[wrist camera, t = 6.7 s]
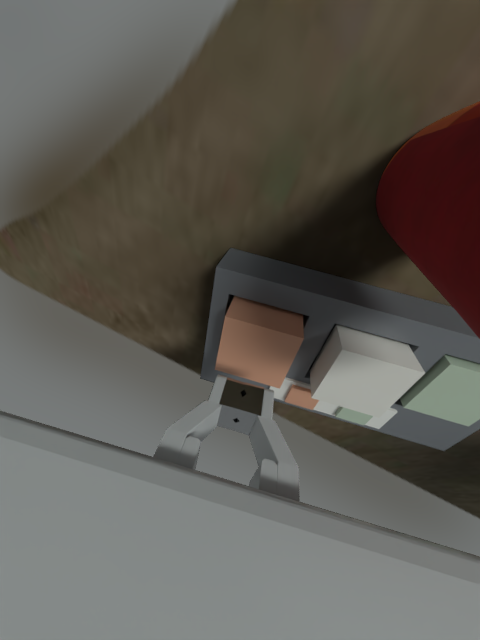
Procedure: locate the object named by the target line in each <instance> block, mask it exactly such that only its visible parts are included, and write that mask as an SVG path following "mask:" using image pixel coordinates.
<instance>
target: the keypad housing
mask: <svg viewBox="0 0 480 640" xmlns="http://www.w3.org/2000/svg"><path fill="white" fill-rule="evenodd" d="M234 296H238V297H242V298H245V299H249V300H253V301H256V302H260V303H263V304H267V305H271V306H274V307H278V308H282V309H285V310H289V311H292V312H296V313H300V314H303V329H304V339H303V342H302V344H301V346H300V348H299V350H298V352H297V354H296V356H295V358H294V360H293V362H292V364H291V366H290V368H289V370H288V373H287V375H286V377H285V379H284V381H283V383H282V385H281V387H280V389H279V388H276V387H272V386H269V385H266V384H262V383H259V382H255V381H252V380H249V379H245V378H242V377H238V376H235V375H232V374H228V373H225V372H221V371H218V370H215V366H216V360H217V355H218V350H219V345H220V340H221V335H222V329H223V324H224V319H225V315H226V313H227V311H228V309H229V307H230V304H231V302H232V300H233V298H234ZM336 324H339V325H343V326H346V327H350V328H354V329H357V330H361V331H364V332H368V333H372V334H375V335H379V336H383V337H386V338H390V339H393V340H397V341H401V342H404V343H408V345H409V347H410V348H411V350H412V352H413V353H414V355H415V357H416V358H417V360H418V361H419V363H420V365H421V366H422V368H423V370H424V371H425V373H426V372H427V371H428V370H429V369H430V368H431V367H432V366H433V365H434V364H435V363H436V362H437V361H438V360H439V359H441V358H442V357H443V356H444V355H445V354H448V355H451V356H455V357H458V358H462V359H466V360H469V361H473V362H476V363H480V339H479V338H478V336H477V335H476V334H475V333H474V332H473V330H472V329H471V328H470V327H469V326H468V324H467V323H466V322H465V321H464V320H463V318H462V317H461V316H460V315H459V314H458V312H457V311H456V310H455V309H454V308H453V307H450V306H447V305H443V304H439V303H435V302H432V301H428V300H424V299H420V298H417V297H413V296H409V295H405V294H402V293H398V292H394V291H390V290H387V289H383V288H379V287H376V286H372V285H368V284H364V283H361V282H357V281H353V280H349V279H346V278H342V277H338V276H334V275H331V274H327V273H323V272H319V271H316V270H312V269H308V268H304V267H301V266H297V265H293V264H289V263H286V262H282V261H278V260H274V259H271V258H267V257H263V256H260V255H256V254H252V253H248V252H245V251H241V250H237V249H233V248H230V249H229V250H228V252H227V253H226V254H225V256H224V257H223V258H222V260H221V261H220V262H219V264H218V265H217V266H216V272H215V279H214V286H213V293H212V300H211V307H210V314H209V321H208V328H207V335H206V342H205V349H204V356H203V363H202V370H201V379H204V380H207V381H210V382H215V379H216V377H217V375H222V376H225V377H228V378H232V379H235V380H238V381H241V382H244V383H245V382H246V383H249V384H253V385H257V386H260V387H264V388H267V389H270V390H274V401H278V402H281V403H284V404H288V405H291V406H294V407H298V408H301V409H305V410H308V411H311V412H315V413H318V414H321V415H325V416H328V417H331V418H335V419H338V420H342V421H345V422H348V423H352V424H355V425H358V426H362V427H365V428H368V429H372V430H375V431H379V432H382V433H385V434H389V435H392V436H395V437H399V438H402V439H405V440H409V441H412V442H416V443H419V444H422V445H426V446H429V447H432V448H436V449H439V450H442V451H445V450H447V449H448V448H450V447H451V446H453V445H455V444H456V443H458V442H459V441H461V440H463V439H464V438H466V437H467V436H469V435H471V434H472V433H474V432H475V431H477V430H479V429H480V419H479V420H478V421H476V422H475V423H473V424H472V425H470V426H469V427H468V426H465V425H462V424H458V423H455V422H451V421H448V420H444V419H441V418H438V417H434V416H431V415H427V414H424V413H420V412H417V411H413V410H410V409H407V408H403V405H402V403H401V401H400V398H399V399H398V400H397V401H396V402H395V403H394V404H393V405H392V406H391V407H390V408H389V409H388V410H387V411H386V412H385V413H384V414H383V415H382V416H381V417H380V418H378V417H374V416H371V415H367V414H364V413H361V412H357V411H354V410H350V409H347V408H344V407H340V406H337V405H334V404H330V403H327V402H323V401H320V400H317V399H313V398H311V384H310V369H311V367H312V366H313V364H314V362H315V360H316V358H317V357H318V355H319V353H320V351H321V350H322V348H323V346H324V344H325V343H326V341H327V339H328V337H329V336H330V334H331V332H332V330H333V328H334V327H335V325H336ZM410 388H411V387H410ZM410 388H409V389H410ZM409 389H408V390H409ZM408 390H407V391H408Z"/></svg>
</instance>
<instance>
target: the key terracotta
mask: <svg viewBox="0 0 480 640" xmlns="http://www.w3.org/2000/svg"><path fill="white" fill-rule="evenodd" d="M303 339H304V329H303V314H300V313H296V312H292V311H289V310H285V309H282V308H278V307H274V306H271V305H267V304H263V303H260V302H256V301H253V300H249V299H245V298H242V297H238V296H234V298H233V300H232V302H231V304H230V307H229V309H228V311H227V313H226V315H225V319H224V324H223V329H222V335H221V340H220V345H219V350H218V355H217V360H216V366H215V370H218V371H221V372H225V373H228V374H232V375H235V376H238V377H242V378H245V379H249V380H252V381H255V382H259V383H262V384H266V385H269V386H272V387H276V388H279V389H280V387H281V385H282V383H283V381H284V379H285V377H286V375H287V373H288V370H289V368H290V366H291V364H292V362H293V360H294V358H295V356H296V354H297V352H298V350H299V348H300V346H301V344H302V342H303Z"/></svg>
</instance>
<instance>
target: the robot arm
mask: <svg viewBox="0 0 480 640" xmlns="http://www.w3.org/2000/svg"><path fill="white" fill-rule="evenodd" d="M273 402H274V390H270V389H267V388H264V387H260V386H257V385H253V384H249V383H246V382H245V383H244V382H241V381H238V380H235V379H232V378H228V377H225V376H222V375H217V377H216V379H215V382H214V385H213V388H212V391H211V393H210V396H209V399H208V401H206V400H205V401H203V402H202V403H201V404H199V405H198V406H196V407H195V408H194V409H192V410H191V411H190V412H188V413H187V414H186V415H184V416H183V417H182V418H180V419H179V420H178V421H176V422H175V423H173V424H172V425H171V426H169V427H168V428H167V429H166V432H165V433H164V436H163V438H162V440H161V442H160V444H159V446H158V448H157V450H156V452H155V454H154V456H153V457H151V456H148V455H144V454H141V453H138V452H135V451H131V450H128V449H125V448H121V447H118V446H114V445H111V444H108V443H105V442H102V441H98V440H95V439H92V438H89V437H85V436H82V435H79V434H75V433H72V432H69V431H65V430H62V429H59V428H56V427H52V426H49V425H45V424H42V423H39V422H35V421H32V420H29V419H26V418H23V417H19V416H16V415H13V414H9V413H6V412H3V411H0V640H480V557H479V556H476V555H473V554H469V553H466V552H463V551H460V550H456V549H453V548H450V547H446V546H443V545H440V544H436V543H433V542H430V541H427V540H423V539H420V538H417V537H413V536H410V535H407V534H404V533H400V532H397V531H394V530H391V529H387V528H384V527H381V526H377V525H374V524H371V523H368V522H364V521H361V520H358V519H354V518H351V517H348V516H345V515H341V514H338V513H335V512H331V511H328V510H325V509H322V508H318V507H315V506H312V505H309V504H305V503H302V502H299V467H298V465H297V464H296V461H295V459H294V457H293V455H292V453H291V451H290V449H289V447H288V445H287V443H286V442H285V440H284V438H283V435H282V434H281V432H280V430H279V428H278V426H277V424H276V422H275V421H274V420H272V415H273ZM217 426H219V427H223V428H227V429H231V430H234V431H237V432H240V433H244V434H246V435H249V438H250V441H251V444H252V447H253V450H254V453H255V457H256V460H257V463H258V466H259V467H258V469H257V470H256V472H255V474H254V476H253V477H252V479H251V481H250V484H249V486H246V485H242V484H239V483H236V482H233V481H230V480H227V479H223V478H220V477H217V476H213V475H210V474H207V473H203V472H200V471H197V470H195V468H196V464H197V459H198V454H199V449H200V444H201V441H202V440H203V439H204V438H205V437H207V436H208V435H209V434H210V433H211V432H212V431H213V430H214V429H215V428H216V427H217Z"/></svg>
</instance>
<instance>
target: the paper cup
mask: <svg viewBox="0 0 480 640" xmlns="http://www.w3.org/2000/svg"><path fill="white" fill-rule="evenodd" d="M376 208H377V213H378V217H379V219H380V222H381V223H382V225H383V227H384V228H385V230H386V231H387V232H388V233H389V235H390V236H391V237H392V238H393V240H394V241H395V242H396V243H397V244H398V245H399V247H400V248H401V249H402V250H403V251H404V252H405V254H406V255H407V256H408V257H409V258H410V259H411V260H412V262H413V263H414V264H415V265H416V266H417V267H418V268H419V269H420V271H421V272H422V273H423V274H424V275H425V276H426V277H427V279H428V280H429V281H430V282H431V283H432V284H433V285H434V286H435V288H436V289H437V290H438V291H439V292H440V293H441V294H442V295H443V297H444V298H445V299H446V300H447V301H448V302H449V303H450V304H451V305H452V307H453V308H454V309H455V310H456V311H457V312H458V314H459V315H460V316H461V317H462V318H463V320H464V321H465V322H466V323H467V324H468V326H469V327H470V328H471V329H472V330H473V332H474V333H475V334H476V335H477V336H478V338H479V339H480V101H479V102H477V103H475V104H473V105H470V106H468V107H466V108H463V109H461V110H459V111H457V112H455V113H453V114H451V115H448V116H446V117H444V118H442V119H440V120H438V121H436V122H434V123H432V124H431V125H429V126H427V127H425V128H424V129H422V130H421V131H419V132H418V133H417V134H415V135H414V136H413V137H412V138H410V139H409V140H408V141H407V142H406V143H405V144H404V145H403V146H402V147H401V148H400V149H399V150H398V151H397V152H396V154H395V155H394V156H393V158H392V159H391V160H390V162H389V163H388V165H387V167H386V168H385V170H384V172H383V174H382V177H381V179H380V182H379V185H378V189H377V194H376Z"/></svg>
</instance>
